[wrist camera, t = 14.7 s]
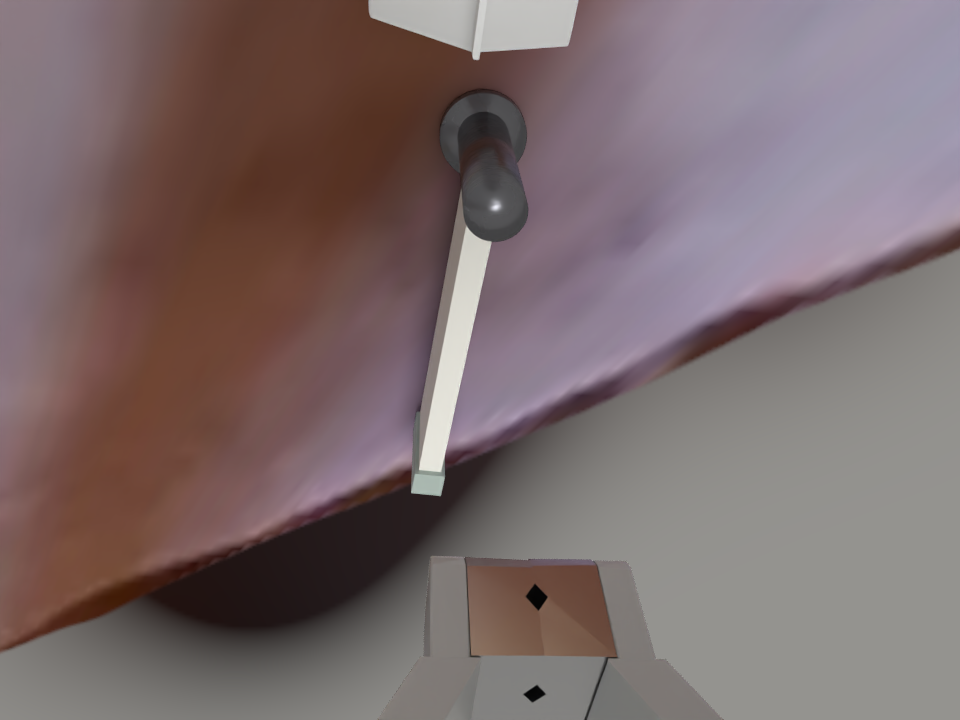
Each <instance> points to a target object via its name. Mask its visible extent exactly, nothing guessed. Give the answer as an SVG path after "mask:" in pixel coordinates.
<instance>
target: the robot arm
mask: <svg viewBox="0 0 960 720" xmlns="http://www.w3.org/2000/svg"><path fill="white" fill-rule="evenodd" d="M426 596H427V597H426V607H425V608H426V609H425V624H424V655H423V657H420V658H419V659H418V661H417V662H416V663H415V665H414V667H413V668H412V669H411V671H410V672H409V674H408V675H407V677H406V678H405V680H404V681H403V682H402V684H401V685H400V687H399V688H398V690H397V691H396V693H395V694H394V696H393V697H392V699H391V700H390V701H389V703H388V704H387V706H386V707H385V709H384V710H383V712H382V713H381V715H380V716H379V718H378V719H377V720H723V719H722V718H721V717H720V715H718V713H717V712H716V711H715V710H714V709H713V708H712V707H711V706H710V705H709V704H708V703H707V702H706V701H705V700H704V699H703V698H702V697H701V696H700V695H699V694H698V693H697V691H695V689H694V688H693V687H692V686H691V685H690V684H689V683H688V682H687V681H686V680H685V679H684V678H683V677H682V676H681V675H680V674H679V673H678V672H677V671H676V670H675V669H674V667H673V666H672V665H671V664H670V663H669V662H668V661H667V660H665V659H656V657H655V654H654V650H653V647H652V643H651V639H650V635H649V632H648V629H647V625H646V622H645V617H644V614H643V610H642V607H641V603H640V599H639V596H638V592H637V588H636V585H635V581H634V578H633V574H632V570H631V567H630V566H629V564H628V563H627V562H626V561H592V560H576V559H528V560H512V559H492V558H471V557H465V558H464V557H445V556H444V557H442V556H431V558H430V565H429V575H428V586H427V595H426Z"/></svg>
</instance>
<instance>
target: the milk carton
mask: <svg viewBox="0 0 960 720" xmlns="http://www.w3.org/2000/svg"><path fill="white" fill-rule="evenodd" d="M577 5H578V0H369V14H370V17H371V18H374V19H377V20H379V21H382V22H385V23H388V24H391V25H394V26H397V27H400V28H403V29H406V30H409V31H412V32H415V33H418V34H421V35H424V36H427V37H430V38H433V39H435V40H438V41H441V42H444V43H447V44H450V45H453V46H456V47H459V48H462V49H465V50H468V51H471V52H472V56H473V60H479V57H480V52H490V51H504V50H519V49H534V48H549V47H564V46H568V44H569V41H570V37H571V33H572V29H573V24H574V19H575V14H576V10H577Z"/></svg>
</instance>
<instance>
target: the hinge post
mask: <svg viewBox="0 0 960 720" xmlns="http://www.w3.org/2000/svg"><path fill="white" fill-rule="evenodd" d="M526 139H527V132H526V126H525V122H524V119H523V116H522V114H521V112H520V110H519V108H518V107H517V105H516V104H515V103H514V102H513V101H512V100H511V99H510V98H508V97H507V96H505V95H504V94H502V93H499V92H497V91H493V90H487V89H480V90H474V91H470V92H467V93H465V94H463V95H461V96H459V97H458V98H457V99H456V100H454V101H453V102H452V103H451V104H450V106H449V107H448V108H447V110H446V112H445V113H444V115H443V118H442V121H441V125H440V144H441V149H442V152H443V154H444V157H445V158H446V160H447V162H448V163H449V164H450V165H451V166H452V167H453V168H454V169H455V170H456V171H457V172H459V173H460V179H461V191H462V203H463V215H464V220H465V223H466V226H467V227H468V229H469V230H470V231H471V232H472V233H473V234H474V235H475V236H477V237H478V238H480V239H483V240H486V241H491V242H498V241H504V240H507V239H509V238H511V237H513V236H515V235H516V234H517V233H518V232H519V231H520V230H521V229H522V228H523V226H524V225H525V223H526V220H527V217H528V204H527V200H526V196H525V192H524V188H523V184H522V181H521V177H520V173H519V169H518V165H517V162H518V161H519V159H520V158H521V156H522V154H523V152H524V149H525V146H526Z"/></svg>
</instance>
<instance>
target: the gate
mask: <svg viewBox="0 0 960 720" xmlns="http://www.w3.org/2000/svg"><path fill="white" fill-rule="evenodd" d="M490 247H491V241H486V240H483V239H480V238H478V237H477V236H475V235H474V234H473V233H472V232H471V231H470V230H469V229H468V227H467V226H466V223H465V220H464V215H463V203H462V191H461V193H460V198H459V203H458V209H457V214H456V220H455V225H454V231H453V236H452V241H451V247H450V252H449V258H448V263H447V268H446V274H445V279H444V285H443V290H442V296H441V301H440V306H439V312H438V317H437V323H436V328H435V334H434V339H433V344H432V350H431V355H430V361H429V366H428V372H427V377H426V382H425V388H424V393H423V399H422V404H421V410H420V412H416V418H415V424H414V429H413V454H412V484H411V493H419V494H428V495H438V496H440V495H441V491H442V487H443V483H444V478H445V459H444V456H445V452H446V447H447V443H448V438H449V434H450V429H451V424H452V420H453V415H454V411H455V406H456V402H457V397H458V393H459V388H460V383H461V379H462V374H463V370H464V365H465V361H466V356H467V352H468V347H469V342H470V338H471V333H472V329H473V324H474V320H475V315H476V310H477V306H478V301H479V297H480V292H481V288H482V283H483V279H484V274H485V269H486V265H487V260H488V256H489V251H490Z"/></svg>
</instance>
